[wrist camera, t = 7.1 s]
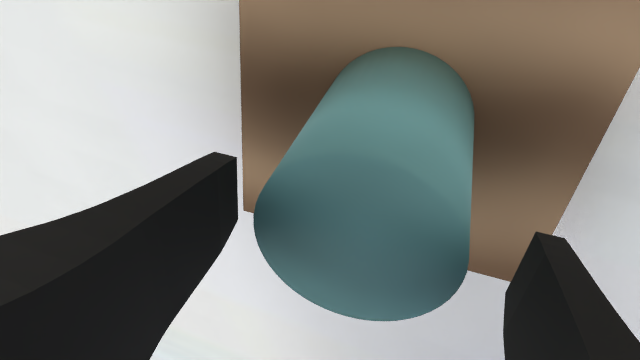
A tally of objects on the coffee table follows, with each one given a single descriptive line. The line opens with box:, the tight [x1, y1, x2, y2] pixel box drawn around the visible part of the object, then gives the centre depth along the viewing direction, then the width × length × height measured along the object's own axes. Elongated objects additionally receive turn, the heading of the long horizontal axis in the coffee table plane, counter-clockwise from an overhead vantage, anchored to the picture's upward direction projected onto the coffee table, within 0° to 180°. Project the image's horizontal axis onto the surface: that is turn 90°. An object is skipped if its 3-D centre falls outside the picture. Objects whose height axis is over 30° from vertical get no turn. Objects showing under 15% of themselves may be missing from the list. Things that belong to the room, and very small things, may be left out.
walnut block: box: [239, 0, 640, 282], centre depth 17 cm, size 12×12×4 cm
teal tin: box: [254, 47, 474, 321], centre depth 13 cm, size 5×5×6 cm
